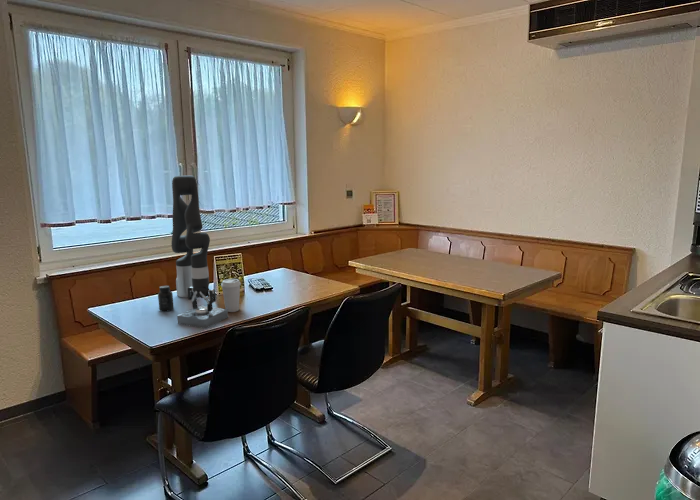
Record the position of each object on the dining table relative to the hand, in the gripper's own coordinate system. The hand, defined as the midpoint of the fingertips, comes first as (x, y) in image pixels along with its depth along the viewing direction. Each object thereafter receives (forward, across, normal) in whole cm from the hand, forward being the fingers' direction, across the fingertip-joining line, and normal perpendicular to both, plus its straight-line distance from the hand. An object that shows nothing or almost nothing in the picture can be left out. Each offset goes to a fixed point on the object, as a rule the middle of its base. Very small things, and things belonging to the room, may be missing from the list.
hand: (202, 310), depth 230 cm
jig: (+5, 0, 0) cm, 5 cm away
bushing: (+5, 0, 0) cm, 5 cm away
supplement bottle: (+5, -28, +6) cm, 29 cm away
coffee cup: (+5, +3, +18) cm, 19 cm away
